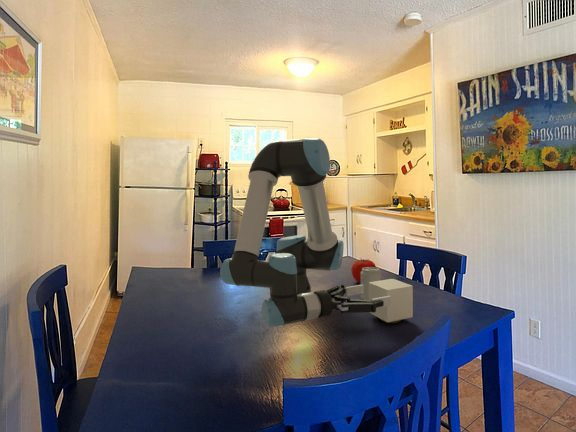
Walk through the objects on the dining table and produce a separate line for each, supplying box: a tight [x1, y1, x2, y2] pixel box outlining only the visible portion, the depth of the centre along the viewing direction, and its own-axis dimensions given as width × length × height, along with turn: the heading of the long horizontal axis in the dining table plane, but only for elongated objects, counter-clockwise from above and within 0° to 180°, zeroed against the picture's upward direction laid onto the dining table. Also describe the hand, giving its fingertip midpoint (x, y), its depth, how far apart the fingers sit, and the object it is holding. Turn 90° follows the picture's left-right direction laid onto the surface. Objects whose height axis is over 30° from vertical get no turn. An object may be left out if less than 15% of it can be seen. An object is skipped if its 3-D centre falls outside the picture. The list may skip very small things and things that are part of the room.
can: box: [360, 267, 382, 300], centre depth 135 cm, size 8×8×12 cm
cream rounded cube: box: [368, 278, 414, 323], centre depth 115 cm, size 10×10×10 cm
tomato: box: [350, 257, 377, 284], centre depth 160 cm, size 11×13×10 cm
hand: (375, 294), depth 113 cm, fingers open, 13 cm apart
